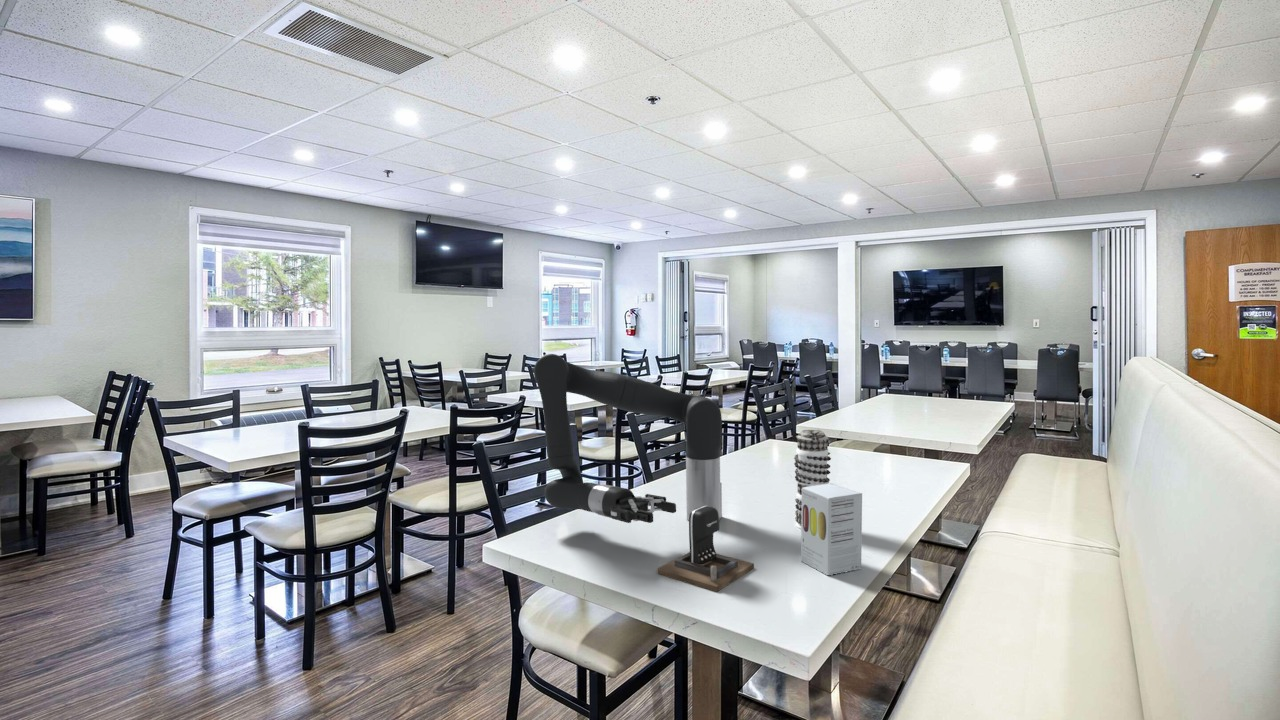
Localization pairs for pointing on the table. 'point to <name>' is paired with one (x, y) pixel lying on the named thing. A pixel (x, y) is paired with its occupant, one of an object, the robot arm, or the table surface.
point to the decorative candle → (810, 464)
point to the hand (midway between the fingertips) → (664, 513)
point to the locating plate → (706, 571)
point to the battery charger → (702, 534)
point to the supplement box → (831, 528)
